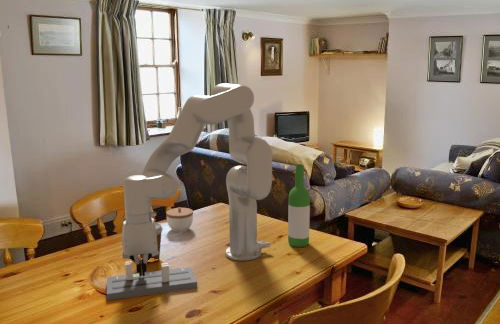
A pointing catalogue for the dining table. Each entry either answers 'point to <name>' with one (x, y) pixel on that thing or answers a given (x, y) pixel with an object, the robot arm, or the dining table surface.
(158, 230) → the disposable coffee cup
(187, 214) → the lidded jar
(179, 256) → the dining table surface
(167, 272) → the fader
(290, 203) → the wine bottle
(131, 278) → the fader
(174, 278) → the console
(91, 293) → the dining table surface
